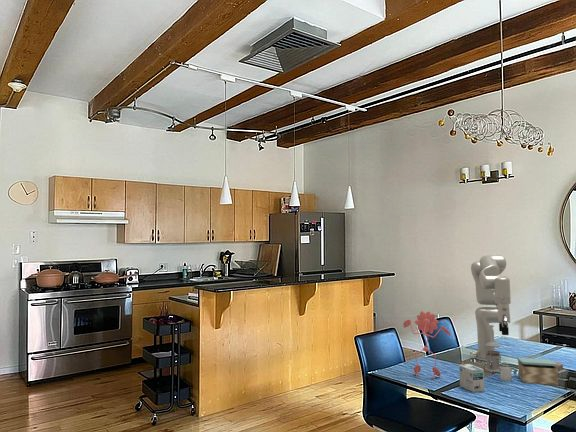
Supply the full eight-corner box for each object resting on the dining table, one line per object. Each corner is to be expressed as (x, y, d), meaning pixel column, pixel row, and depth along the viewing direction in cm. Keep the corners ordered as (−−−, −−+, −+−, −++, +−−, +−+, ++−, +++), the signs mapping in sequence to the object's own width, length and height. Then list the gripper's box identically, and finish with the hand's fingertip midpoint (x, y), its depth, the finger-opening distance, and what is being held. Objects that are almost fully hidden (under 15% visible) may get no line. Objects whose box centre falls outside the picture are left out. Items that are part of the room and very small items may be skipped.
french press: (505, 368, 260) (503, 324, 261) (498, 373, 251) (496, 327, 253) (487, 365, 266) (486, 322, 268) (480, 370, 258) (478, 325, 259)
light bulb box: (485, 391, 223) (484, 368, 223) (473, 392, 221) (472, 370, 221) (470, 384, 233) (469, 363, 234) (459, 386, 231) (458, 364, 232)
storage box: (523, 382, 235) (522, 366, 236) (518, 374, 249) (518, 359, 249) (558, 385, 230) (557, 369, 231) (551, 377, 244) (550, 361, 244)
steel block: (501, 380, 239) (500, 369, 239) (499, 377, 244) (499, 366, 244) (511, 381, 237) (511, 369, 238) (510, 378, 242) (509, 367, 242)
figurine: (450, 382, 236) (448, 314, 239) (401, 375, 250) (399, 311, 252) (455, 375, 249) (454, 310, 252) (409, 369, 263) (407, 307, 265)
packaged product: (548, 359, 262) (566, 363, 254) (549, 367, 262) (567, 372, 254) (531, 364, 253) (549, 368, 245) (531, 373, 253) (549, 377, 244)
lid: (522, 363, 236) (522, 361, 236) (517, 359, 249) (517, 357, 249) (558, 366, 231) (558, 364, 231) (551, 361, 244) (551, 359, 244)
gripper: (513, 303, 233) (514, 336, 232) (507, 298, 250) (509, 330, 249) (497, 302, 236) (498, 336, 235) (493, 298, 252) (494, 329, 251)
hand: (503, 333), depth 242 cm, fingers open, 9 cm apart
